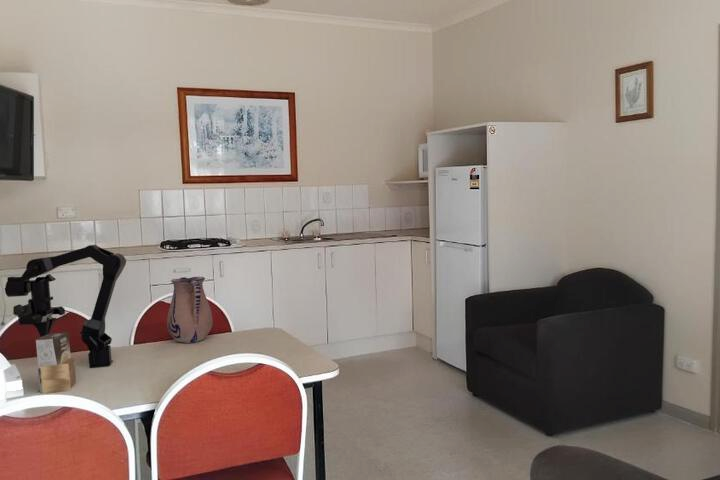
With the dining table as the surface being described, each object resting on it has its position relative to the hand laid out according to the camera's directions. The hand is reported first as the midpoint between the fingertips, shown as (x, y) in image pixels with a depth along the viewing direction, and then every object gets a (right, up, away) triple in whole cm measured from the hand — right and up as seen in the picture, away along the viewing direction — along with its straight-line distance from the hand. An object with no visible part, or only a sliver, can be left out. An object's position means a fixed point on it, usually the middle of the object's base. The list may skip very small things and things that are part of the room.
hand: (44, 340), depth 212 cm
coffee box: (+15, -11, -22) cm, 29 cm away
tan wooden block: (+17, -11, -23) cm, 31 cm away
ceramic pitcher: (+42, -6, +33) cm, 54 cm away
